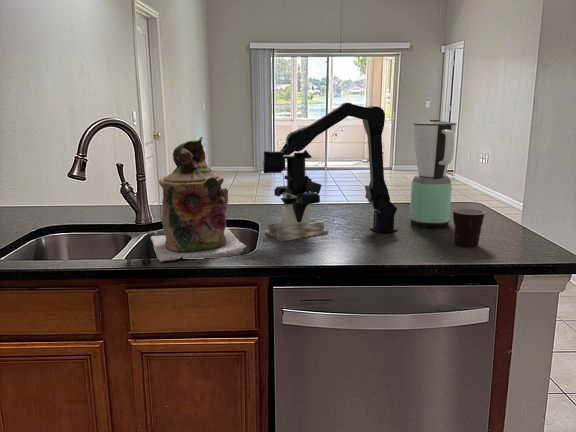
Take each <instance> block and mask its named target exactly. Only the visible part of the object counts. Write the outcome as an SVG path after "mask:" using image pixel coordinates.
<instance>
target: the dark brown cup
mask: <svg viewBox="0 0 576 432" xmlns="http://www.w3.org/2000/svg"><path fill="white" fill-rule="evenodd" d="M484 217H485V211H483V210H481V209H476V208H469V207H468V208H466V207H465V208H462V207H461V208H456V209H453V210H452V219H453V220H452V221H453V235H454V238H453V239H454V245H455V246H457V247H459V248H464V249H465V248H466V249H474V248H477V247H478V246H479V243H480V236H481V233H482V227H483V224H484V223H483V222H484Z"/></svg>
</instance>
